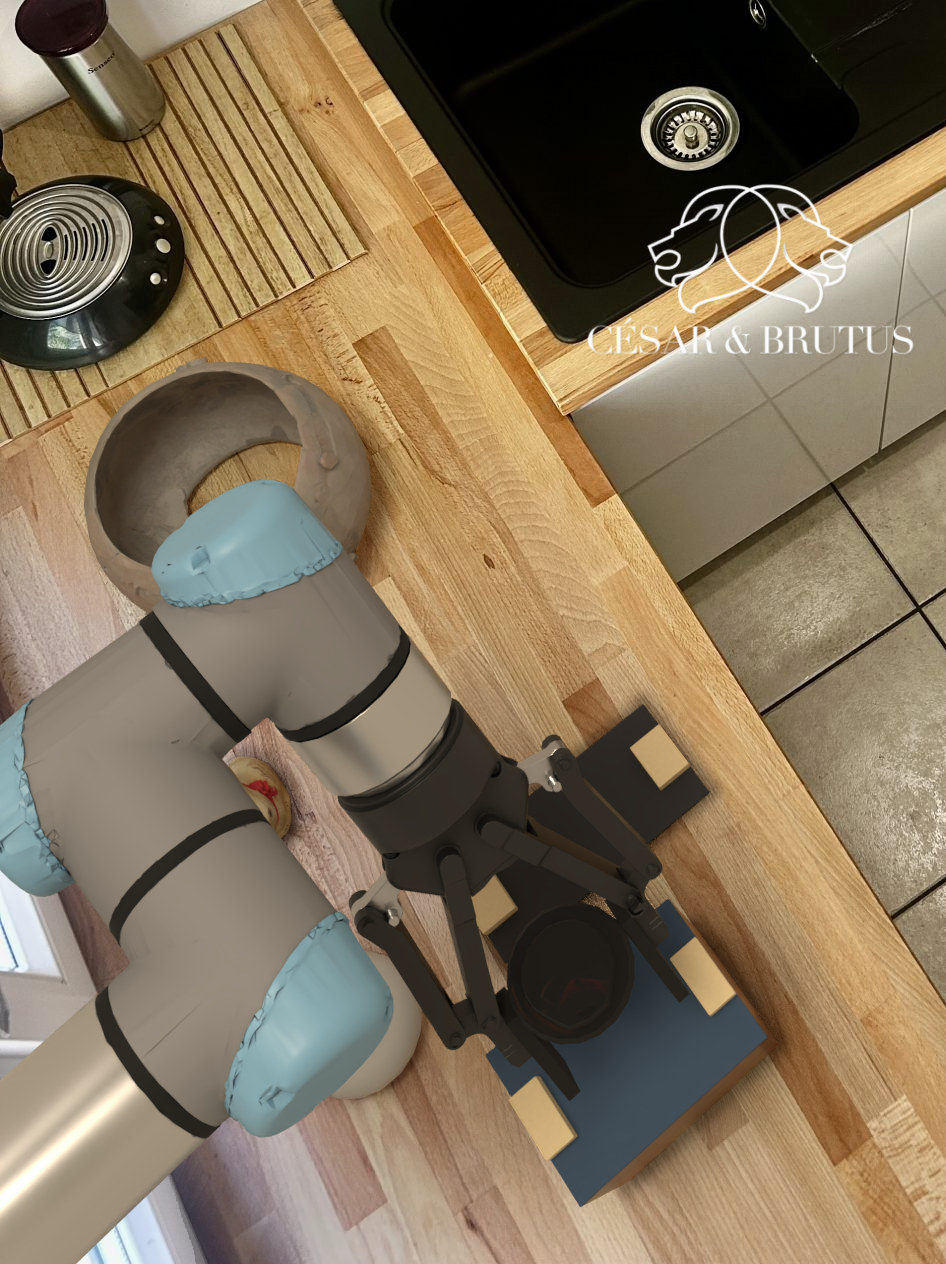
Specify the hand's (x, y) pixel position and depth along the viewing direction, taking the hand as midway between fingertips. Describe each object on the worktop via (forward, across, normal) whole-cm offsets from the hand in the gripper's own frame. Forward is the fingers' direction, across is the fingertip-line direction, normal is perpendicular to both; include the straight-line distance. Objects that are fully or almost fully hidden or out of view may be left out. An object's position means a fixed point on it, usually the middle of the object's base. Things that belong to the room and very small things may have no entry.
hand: (621, 1031), depth 83 cm
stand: (+23, +1, -23) cm, 32 cm away
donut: (+12, +18, -34) cm, 40 cm away
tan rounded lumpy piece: (-2, +16, -48) cm, 50 cm away
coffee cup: (0, 0, -5) cm, 5 cm away
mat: (+11, -3, -35) cm, 37 cm away
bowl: (-17, +3, -63) cm, 65 cm away
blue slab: (+6, +1, -6) cm, 8 cm away
